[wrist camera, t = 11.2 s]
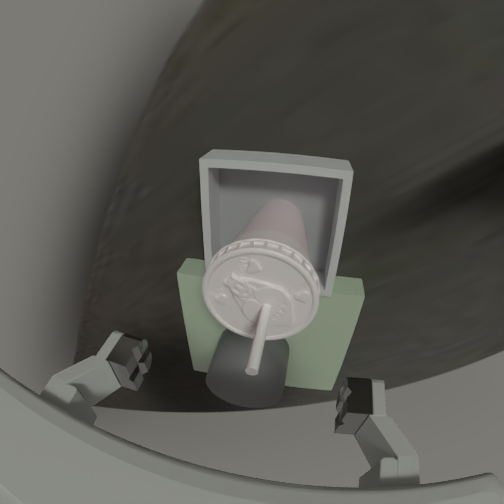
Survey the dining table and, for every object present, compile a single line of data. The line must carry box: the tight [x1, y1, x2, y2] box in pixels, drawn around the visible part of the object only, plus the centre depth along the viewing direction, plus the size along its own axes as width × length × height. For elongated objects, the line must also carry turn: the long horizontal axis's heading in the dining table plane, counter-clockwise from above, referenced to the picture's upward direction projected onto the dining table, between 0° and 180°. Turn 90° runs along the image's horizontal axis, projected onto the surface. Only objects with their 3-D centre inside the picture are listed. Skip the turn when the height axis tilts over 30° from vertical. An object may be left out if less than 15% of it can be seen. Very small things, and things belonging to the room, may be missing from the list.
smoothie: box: [202, 199, 321, 375], centre depth 18 cm, size 6×6×14 cm
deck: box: [177, 150, 365, 408], centre depth 25 cm, size 16×24×8 cm, turn 179°
